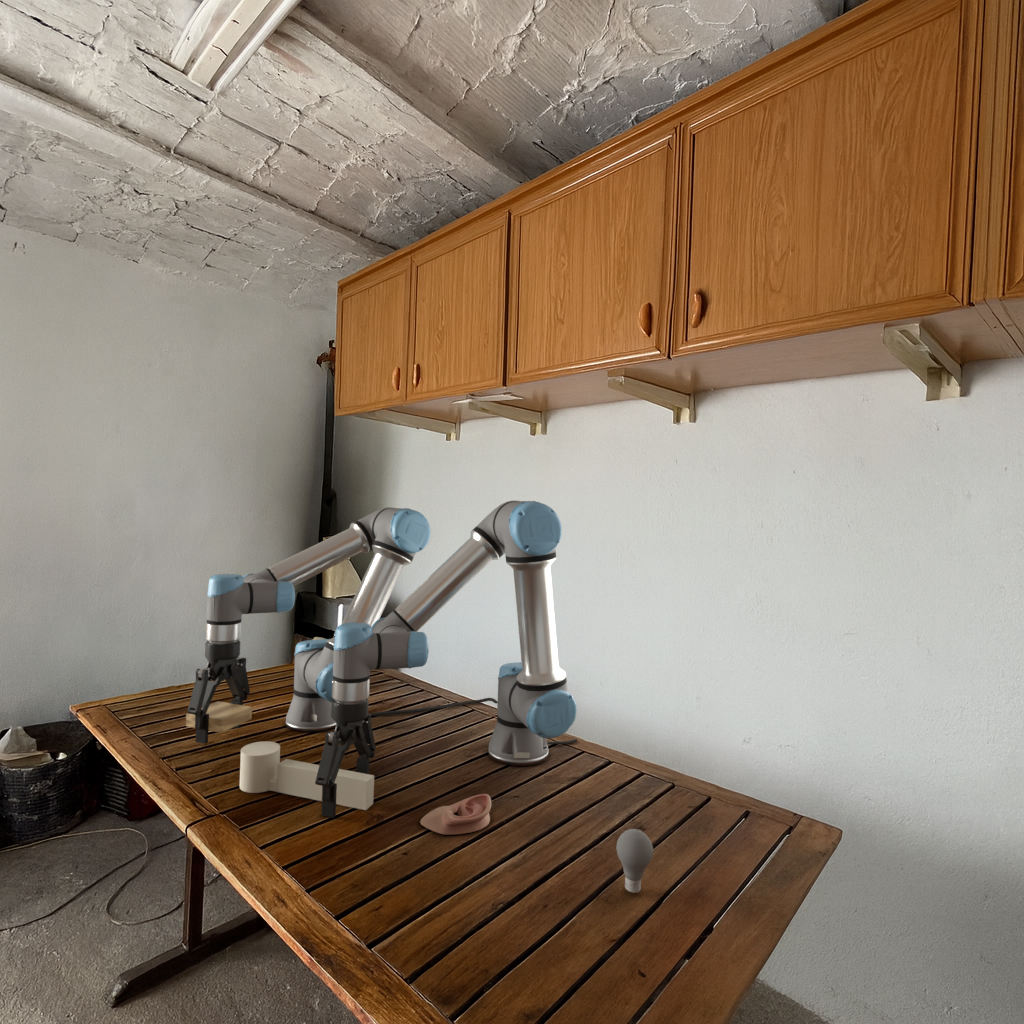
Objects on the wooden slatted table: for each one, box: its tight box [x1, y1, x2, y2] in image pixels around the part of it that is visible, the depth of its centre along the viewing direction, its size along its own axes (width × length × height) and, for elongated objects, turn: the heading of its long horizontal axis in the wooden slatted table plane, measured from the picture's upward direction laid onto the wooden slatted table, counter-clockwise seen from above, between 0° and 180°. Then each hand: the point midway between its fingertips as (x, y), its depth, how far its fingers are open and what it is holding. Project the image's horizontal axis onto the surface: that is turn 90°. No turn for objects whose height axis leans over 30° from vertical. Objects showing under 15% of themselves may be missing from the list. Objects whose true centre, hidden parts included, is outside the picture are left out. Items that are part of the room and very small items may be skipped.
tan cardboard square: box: [185, 700, 253, 734], centre depth 149 cm, size 10×10×3 cm
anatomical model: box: [419, 793, 492, 836], centre depth 126 cm, size 13×4×12 cm
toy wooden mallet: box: [239, 741, 375, 811], centre depth 135 cm, size 31×8×8 cm, turn 73°
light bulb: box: [615, 828, 654, 894], centre depth 106 cm, size 6×6×10 cm
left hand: (218, 734), depth 149 cm, fingers closed on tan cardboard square, 10 cm apart
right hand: (345, 801), depth 132 cm, fingers open, 12 cm apart
